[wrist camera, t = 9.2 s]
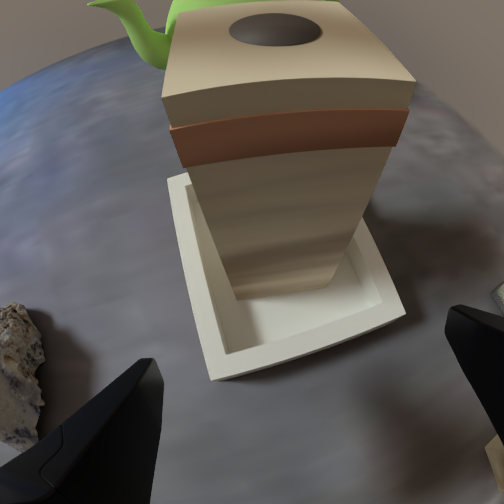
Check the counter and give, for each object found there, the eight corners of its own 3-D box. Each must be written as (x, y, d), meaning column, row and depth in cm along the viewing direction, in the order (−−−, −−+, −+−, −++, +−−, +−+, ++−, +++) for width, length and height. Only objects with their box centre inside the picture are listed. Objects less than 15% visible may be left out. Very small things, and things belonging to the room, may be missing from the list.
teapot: (146, 167, 22) (78, 20, 10) (125, 82, 28) (89, -13, 16) (378, 94, 25) (403, -26, 13) (300, 33, 31) (300, -57, 19)
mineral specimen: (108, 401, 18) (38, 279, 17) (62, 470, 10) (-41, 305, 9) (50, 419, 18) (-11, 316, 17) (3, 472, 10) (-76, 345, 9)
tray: (389, 323, 16) (406, 313, 14) (219, 381, 15) (210, 380, 13) (315, 163, 21) (318, 139, 19) (177, 200, 20) (167, 178, 18)
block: (327, 287, 17) (420, 81, 5) (235, 301, 17) (157, 97, 5) (309, 209, 19) (338, 0, 7) (227, 220, 19) (176, 11, 7)
